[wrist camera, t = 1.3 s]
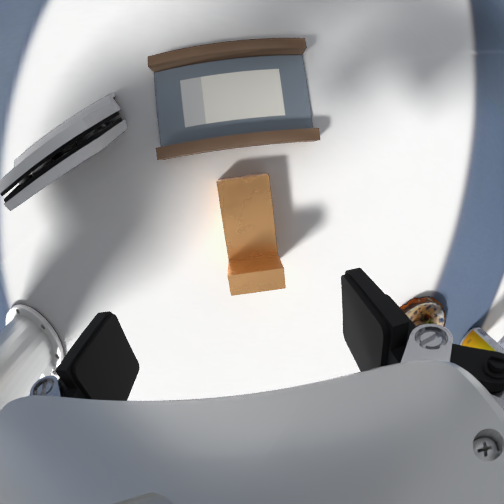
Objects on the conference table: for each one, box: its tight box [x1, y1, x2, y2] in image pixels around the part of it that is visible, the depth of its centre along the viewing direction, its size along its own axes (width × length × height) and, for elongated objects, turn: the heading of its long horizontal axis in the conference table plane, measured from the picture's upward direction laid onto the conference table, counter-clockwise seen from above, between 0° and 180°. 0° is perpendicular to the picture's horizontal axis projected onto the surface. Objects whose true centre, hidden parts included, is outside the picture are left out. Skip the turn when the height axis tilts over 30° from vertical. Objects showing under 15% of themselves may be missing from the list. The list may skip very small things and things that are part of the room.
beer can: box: [460, 327, 504, 353], centre depth 32 cm, size 6×6×15 cm
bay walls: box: [148, 38, 320, 160], centre depth 25 cm, size 11×16×2 cm
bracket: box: [217, 173, 285, 296], centre depth 27 cm, size 10×5×7 cm, turn 7°
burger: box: [400, 296, 446, 327], centre depth 34 cm, size 12×12×8 cm
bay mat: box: [154, 55, 313, 147], centre depth 26 cm, size 9×16×1 cm, turn 97°
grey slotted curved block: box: [0, 93, 127, 211], centre depth 23 cm, size 17×5×10 cm, turn 109°
